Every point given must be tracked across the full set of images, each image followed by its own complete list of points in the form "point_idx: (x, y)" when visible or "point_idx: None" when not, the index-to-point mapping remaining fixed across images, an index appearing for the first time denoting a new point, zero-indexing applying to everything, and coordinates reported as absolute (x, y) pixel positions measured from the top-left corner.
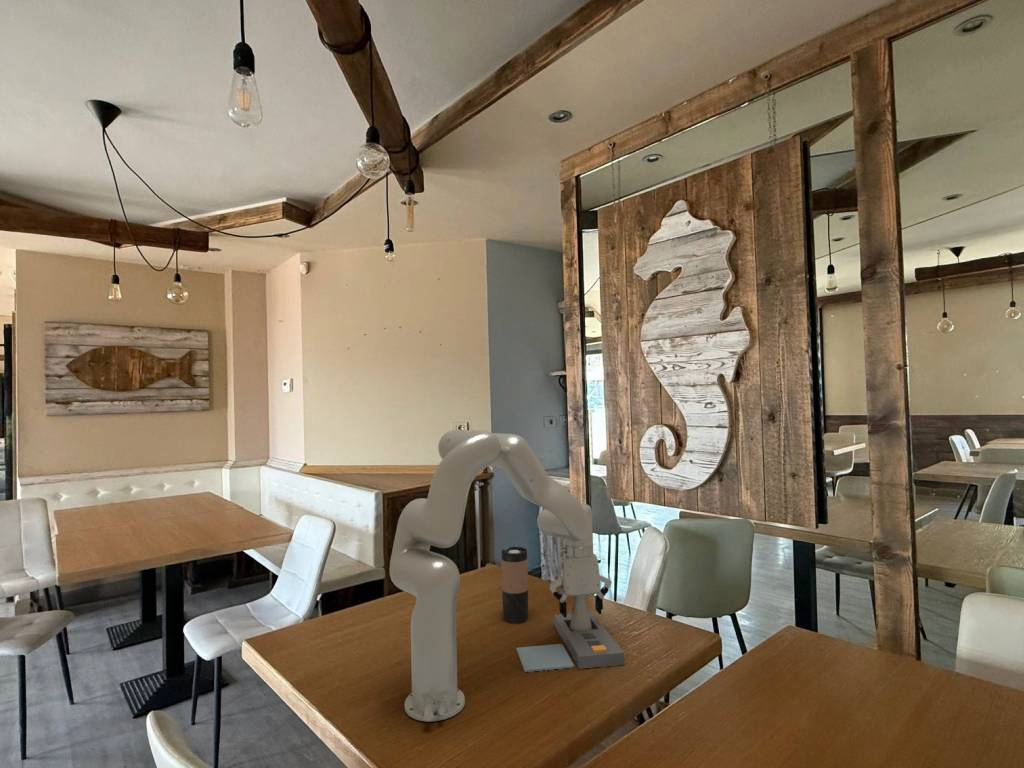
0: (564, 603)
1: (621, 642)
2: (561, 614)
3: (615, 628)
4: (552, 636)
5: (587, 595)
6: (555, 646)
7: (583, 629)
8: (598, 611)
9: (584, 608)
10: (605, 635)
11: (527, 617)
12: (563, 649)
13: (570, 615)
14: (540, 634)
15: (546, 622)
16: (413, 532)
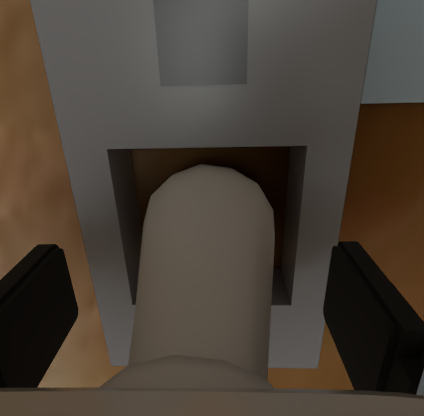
0: (416, 324)
1: (3, 87)
2: (278, 365)
3: (25, 252)
4: (357, 226)
5: None
6: (418, 69)
7: (208, 171)
8: (54, 260)
9: (174, 268)
10: (71, 25)
11: None
12: (388, 10)
13: None
14: (406, 257)
15: (327, 356)
16: None
